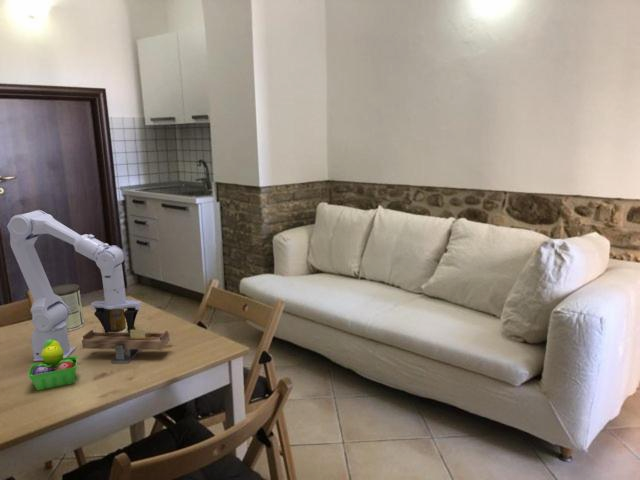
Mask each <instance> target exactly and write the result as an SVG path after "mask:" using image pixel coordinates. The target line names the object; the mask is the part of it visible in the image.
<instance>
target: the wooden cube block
mask: <svg viewBox="0 0 640 480" xmlns="http://www.w3.org/2000/svg"><path fill="white" fill-rule="evenodd" d="M151 333H152V327H151V324H134V327H132V328H131V329H130V336H131V340H149V339H150V338H151V337H152V336H151Z"/></svg>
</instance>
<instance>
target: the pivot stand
mask: <svg viewBox="0 0 640 480" xmlns="http://www.w3.org/2000/svg"><path fill="white" fill-rule="evenodd" d="M114 350H115V351H114V352H115V357H114V358H112V359H111V364H130V362H131V361H132V360H133V359H134V358H135V357H136V356H137V355H138V354H139V353H140V352H141V351H143V349H125V346H124V344H116V345H115V349H114Z"/></svg>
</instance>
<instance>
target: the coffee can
mask: <svg viewBox="0 0 640 480" xmlns="http://www.w3.org/2000/svg"><path fill="white" fill-rule="evenodd" d="M51 288H52V290H53V293H54V294H56V295H58V296H60V297H61V298H62V300H63V302H64V303H65V304H66V305H67V306H68V308H69V310H70V315H69V317H68V318H67V319H66V320H67V323H66V325H67V332H71V331H74V330H77V329H81V328H82V327H84V326H85V321H84V312H83V307H82V306H83V305H82V299H81V292H80V285H79V284H76V283H67V284H58V285H55V286H51Z"/></svg>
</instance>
